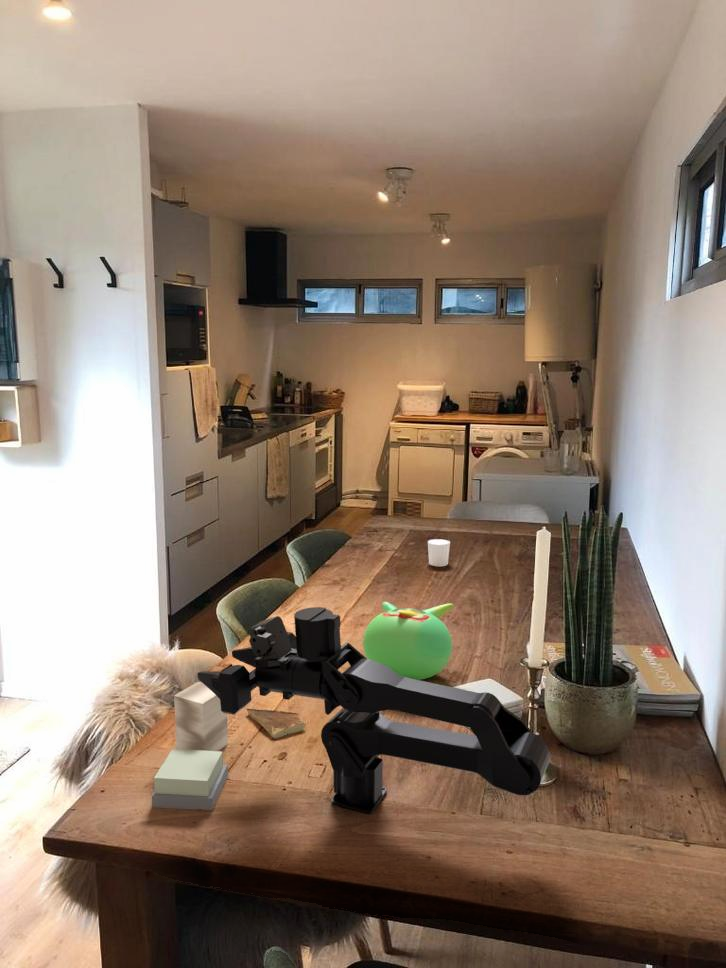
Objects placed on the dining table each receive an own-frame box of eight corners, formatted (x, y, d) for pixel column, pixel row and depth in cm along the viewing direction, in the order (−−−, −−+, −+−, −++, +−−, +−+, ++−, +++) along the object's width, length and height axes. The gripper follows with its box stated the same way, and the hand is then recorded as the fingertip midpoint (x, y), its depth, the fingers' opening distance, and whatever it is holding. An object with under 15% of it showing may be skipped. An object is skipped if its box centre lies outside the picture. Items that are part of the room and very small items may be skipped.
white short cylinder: (450, 567, 230) (451, 544, 229) (427, 567, 230) (428, 544, 229) (448, 560, 237) (449, 538, 236) (426, 560, 237) (426, 538, 236)
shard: (246, 716, 140) (246, 706, 140) (284, 705, 144) (284, 696, 144) (271, 742, 131) (271, 732, 131) (311, 730, 135) (311, 721, 135)
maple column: (227, 744, 130) (226, 689, 128) (204, 760, 125) (202, 703, 123) (200, 735, 133) (198, 681, 131) (176, 751, 128) (174, 695, 126)
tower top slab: (223, 766, 120) (222, 751, 119) (208, 796, 112) (207, 780, 111) (173, 763, 120) (172, 748, 120) (154, 793, 113) (153, 777, 112)
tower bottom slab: (228, 779, 121) (227, 764, 120) (212, 813, 112) (211, 798, 111) (172, 776, 121) (171, 762, 121) (152, 810, 112) (151, 795, 112)
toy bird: (352, 685, 152) (351, 614, 149) (379, 652, 168) (379, 588, 165) (440, 699, 146) (441, 626, 143) (460, 664, 162) (462, 598, 159)
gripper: (326, 605, 122) (244, 597, 129) (263, 647, 106) (173, 636, 112) (330, 671, 124) (249, 660, 131) (270, 723, 108) (180, 707, 114)
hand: (215, 664), depth 122 cm, fingers open, 9 cm apart
